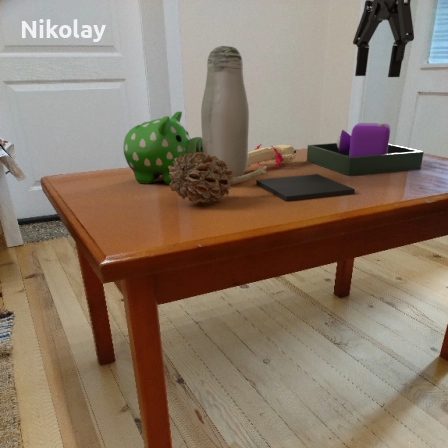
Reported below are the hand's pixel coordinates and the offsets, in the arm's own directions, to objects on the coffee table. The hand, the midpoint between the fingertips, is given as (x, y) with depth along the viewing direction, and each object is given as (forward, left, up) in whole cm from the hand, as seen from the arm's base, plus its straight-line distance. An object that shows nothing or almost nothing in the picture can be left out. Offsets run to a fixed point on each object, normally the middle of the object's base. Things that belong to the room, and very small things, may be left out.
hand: (376, 76), depth 109 cm
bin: (+1, 0, -21) cm, 21 cm away
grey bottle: (-5, +41, -22) cm, 47 cm away
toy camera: (+1, 0, -21) cm, 21 cm away
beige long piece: (+7, +27, -22) cm, 36 cm away
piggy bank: (+3, +54, -22) cm, 59 cm away
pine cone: (-19, +47, -22) cm, 56 cm away
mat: (-17, +27, -21) cm, 39 cm away
